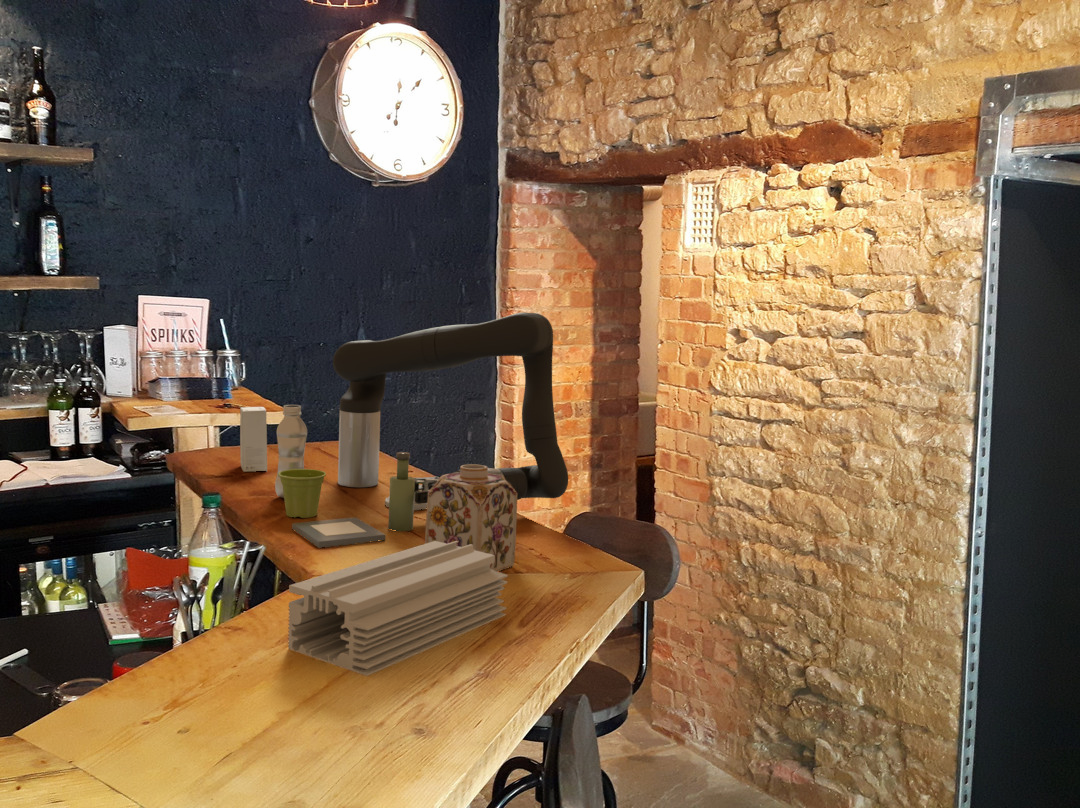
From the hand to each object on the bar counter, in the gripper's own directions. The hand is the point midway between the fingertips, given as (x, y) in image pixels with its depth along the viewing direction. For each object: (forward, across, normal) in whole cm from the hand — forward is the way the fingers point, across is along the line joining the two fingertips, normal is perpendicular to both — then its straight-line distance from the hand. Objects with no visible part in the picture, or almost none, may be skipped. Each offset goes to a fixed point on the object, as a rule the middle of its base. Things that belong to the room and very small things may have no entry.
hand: (406, 493), depth 204 cm
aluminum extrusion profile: (+25, +51, +8) cm, 57 cm away
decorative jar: (+1, +28, +7) cm, 29 cm away
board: (+14, 0, +7) cm, 16 cm away
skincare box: (+10, -64, +7) cm, 65 cm away
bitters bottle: (+1, 0, +7) cm, 7 cm away
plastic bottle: (+12, -32, +7) cm, 35 cm away
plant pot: (+15, -17, +7) cm, 24 cm away
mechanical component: (-9, -17, +8) cm, 21 cm away
